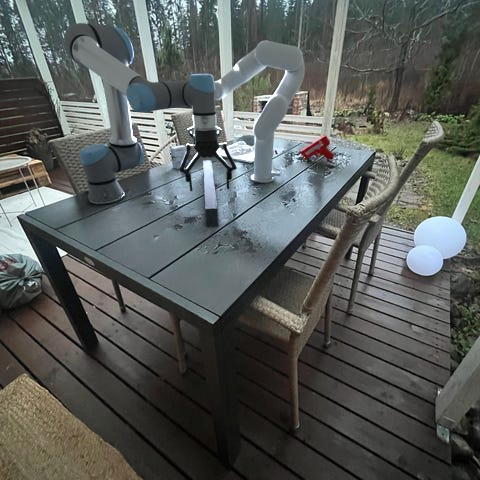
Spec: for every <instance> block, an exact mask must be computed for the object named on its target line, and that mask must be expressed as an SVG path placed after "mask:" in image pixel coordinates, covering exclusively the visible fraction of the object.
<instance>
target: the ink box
mask: <svg viewBox="0 0 480 480" xmlns="http://www.w3.org/2000/svg"><path fill="white" fill-rule="evenodd" d="M186 146H187V145H182V144H181V145H177V146H172V147H169V150H170V158H171V163H172V164H171V165H172V168H173V169H176V170H178V169H179V170H180V166H181V164H182V161H183V158H184V156H185V153H186ZM188 159H189V158H188ZM188 159H187V162H186V164H185V167H187V166H188V165H189V160H188ZM185 167H184V168H185Z"/></svg>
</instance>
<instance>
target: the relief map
mask: <svg viewBox="0 0 480 480" xmlns="http://www.w3.org/2000/svg"><path fill="white" fill-rule="evenodd" d="M254 146H255V145H252V146H251V145H248V144H247V143H246V142H245V141H244V140H243V141H241V140H239V141H237V142H236V143H233V144H230V145H227V150H228V151H229V153H230V155H231V157H232V159H233V160H235V161H240V162H244V163H248V164H249V163H250V164H252V163H254ZM217 152H218V153H219V155H220V156H221V157H222V158H226V159H228V158H227V156H226V154H225V152H224V150H222V149H221V148H220V147H219V149H218V150H217ZM273 153H274V150H273Z"/></svg>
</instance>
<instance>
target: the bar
mask: <svg viewBox="0 0 480 480" xmlns="http://www.w3.org/2000/svg"><path fill="white" fill-rule="evenodd" d="M202 163H203V165H202V166H203V167H202V168H203V183H204V184H203V186H204V187H203V189H204V213H205V221H206V227H219V213H218V212H219V211H218V201H217V193H216V187H215V178H214V171H213V162H212V160H211V159H210V160H209V159H208V160H203V161H202Z"/></svg>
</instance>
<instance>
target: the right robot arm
mask: <svg viewBox="0 0 480 480" xmlns="http://www.w3.org/2000/svg"><path fill="white" fill-rule="evenodd" d="M267 67H268V68H271V69H277V70H282V71H285V73H284V75H283V78H282V80H281V81H280V83H279V85H278V87H277V88H276V90H275V91H274V93H273V94H272V95H271V97H270V98H269V99H268V101H267V103H266V104H265V106H264V108H263V110H262V111H261V112H260V115H259V116H258V117H257V119H256V120H255V122H254V124H253V126H252V127H253V128H252V130H253V135H254V145H253V146H254V162H253V174H252V175H251V176H250V180H251V181H252V182H255V183H260V184H267V183H271V182H274V180H275V177H281V174H282V173H281V172H278V171H273V159H274V158H273V155H274V152H273V151H274V140H275V132H276V131H277V129H278V127H279V126H280V125H281V123H282V121H283V120H284V118H285V117H286V115H287V113H288V110H289V106H290V105H291V103H292V101H293V100H294V98H295V96H296V94H297V93H298V91H299V90H300V88H301V86H302V84H303V81H304V80H305V74H306V73H305V72H306V65H305V61H304V55H303V52H302V50H301V49H300V48H299V47H297V46H296V45H289V44H286V43H279V42H275V41H272V40H261V41H260V42H258V44H257V45H256V47H255V48H253V49H252V50H251V51H250V52H249V53H247V54H246V55H245V56H243V57H242V58H241V59H240V60H238V61H237V62H236V63H235V65H234V66H233V67H232V69H230V71H228V72H227V73H226V74H225V75H223V76H222V77H221V78H219V79H218V80H214V85H215V101H219V100H222V99H224V98H225V97H226V96H228V95H229V94H231V93H232V92H234V91H235V90H236V89H237V88H239V87H240V86H242V85H243V84H246V83H247V82H248V81H250V80H252V78H253V77H255V76H256V75H258V74H259V73H260V72H262V71H264V70H265V69H266V68H267ZM195 129H196V128H194V125H192V126H191V127H189V128H187V129H186V132H187V134H188V136H190V137H191V138H192V141H193V145H195V134H194V133H192V131H194V130H195ZM215 129H216V130H217V138H218V137H220V135H221V133H222V129H221V128H220V127H218V126H217V127H216V128H215Z"/></svg>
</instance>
